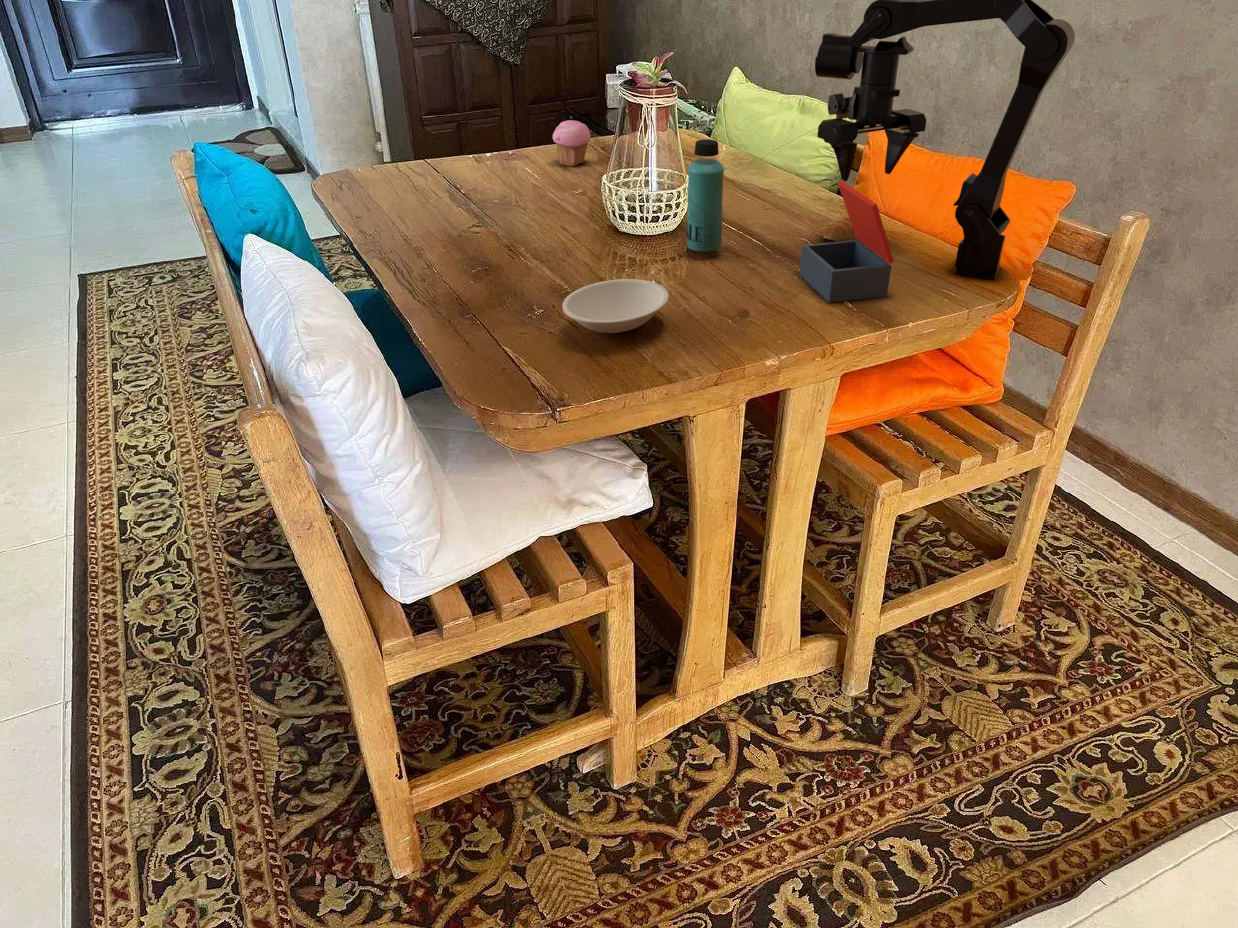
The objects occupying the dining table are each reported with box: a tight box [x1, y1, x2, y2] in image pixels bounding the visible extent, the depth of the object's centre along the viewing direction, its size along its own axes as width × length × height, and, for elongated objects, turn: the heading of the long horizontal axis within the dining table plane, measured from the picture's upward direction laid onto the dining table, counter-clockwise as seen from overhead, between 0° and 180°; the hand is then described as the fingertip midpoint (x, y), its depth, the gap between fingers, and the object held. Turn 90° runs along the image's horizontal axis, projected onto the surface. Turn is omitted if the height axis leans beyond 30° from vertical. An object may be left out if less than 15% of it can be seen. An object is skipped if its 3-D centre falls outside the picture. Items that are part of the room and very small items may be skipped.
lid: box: [837, 180, 895, 264], centre depth 148 cm, size 11×13×1 cm
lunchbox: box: [798, 240, 892, 303], centre depth 152 cm, size 10×13×5 cm
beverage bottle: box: [685, 138, 725, 252], centre depth 161 cm, size 6×7×20 cm
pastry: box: [823, 214, 859, 242], centre depth 172 cm, size 9×7×4 cm
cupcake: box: [552, 119, 592, 167], centre depth 217 cm, size 9×9×10 cm
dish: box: [562, 278, 670, 334], centre depth 139 cm, size 18×14×5 cm
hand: (866, 177), depth 160 cm, fingers open, 9 cm apart
